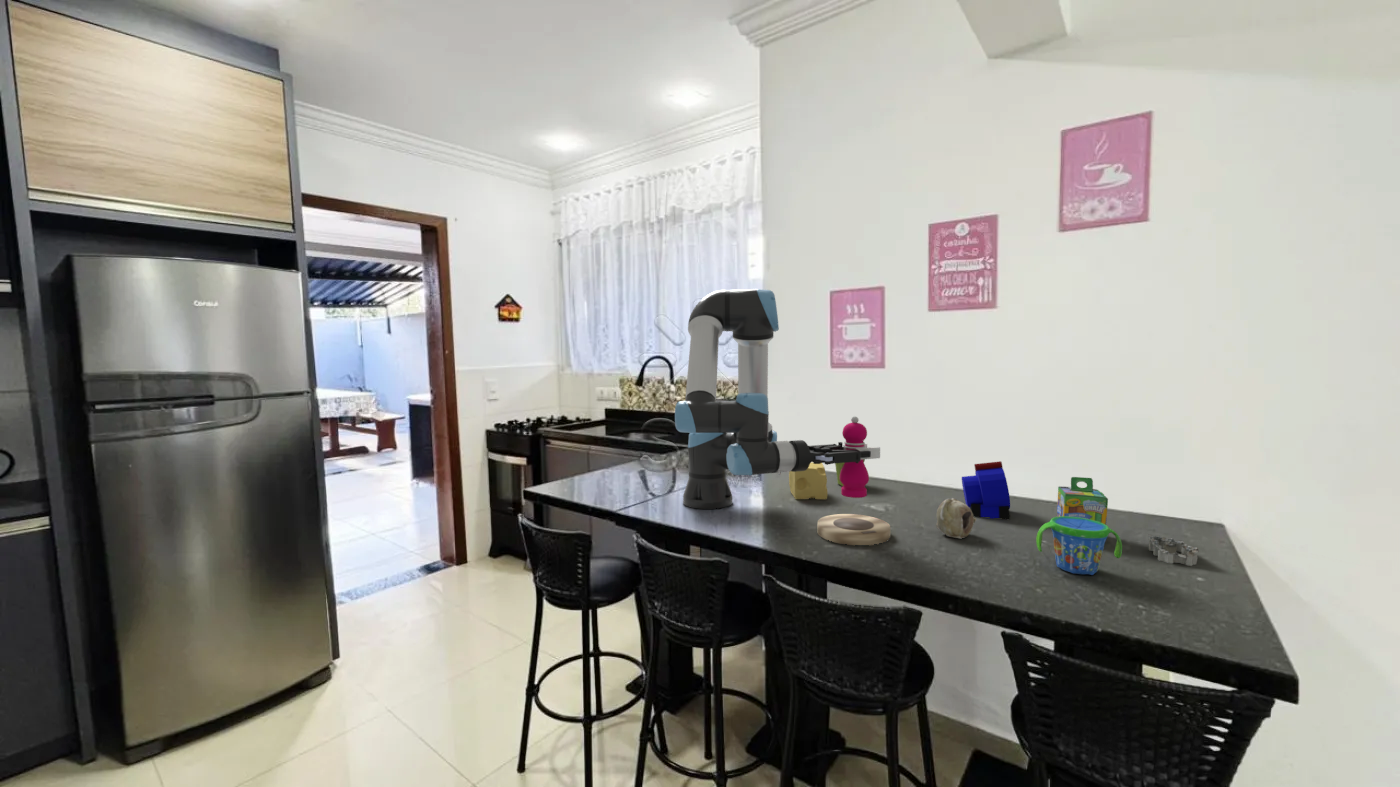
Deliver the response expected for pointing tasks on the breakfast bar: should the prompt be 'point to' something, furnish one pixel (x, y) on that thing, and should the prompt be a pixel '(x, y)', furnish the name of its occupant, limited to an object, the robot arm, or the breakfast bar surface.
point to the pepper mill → (852, 472)
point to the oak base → (853, 529)
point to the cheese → (809, 482)
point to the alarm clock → (987, 491)
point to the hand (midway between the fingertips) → (872, 450)
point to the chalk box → (1082, 501)
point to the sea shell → (954, 518)
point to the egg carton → (1172, 550)
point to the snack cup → (1078, 543)
